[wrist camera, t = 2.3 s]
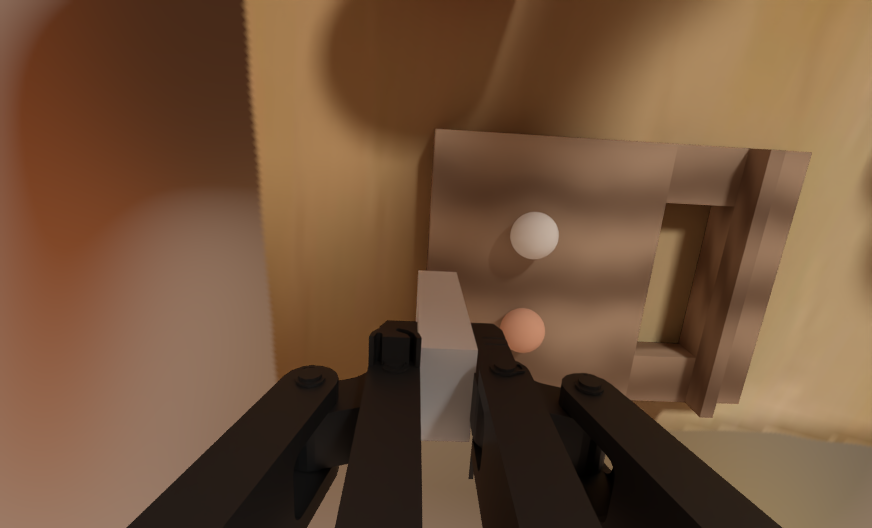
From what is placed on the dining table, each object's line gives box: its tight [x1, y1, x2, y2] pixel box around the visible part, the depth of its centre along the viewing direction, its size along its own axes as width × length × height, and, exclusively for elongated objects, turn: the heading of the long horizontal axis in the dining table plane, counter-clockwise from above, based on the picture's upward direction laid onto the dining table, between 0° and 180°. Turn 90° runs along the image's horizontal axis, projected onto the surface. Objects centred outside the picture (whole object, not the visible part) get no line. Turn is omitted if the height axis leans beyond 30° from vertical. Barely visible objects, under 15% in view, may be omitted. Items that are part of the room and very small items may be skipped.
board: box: [427, 129, 812, 418], centre depth 33 cm, size 20×26×4 cm
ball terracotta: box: [500, 308, 545, 353], centre depth 32 cm, size 3×3×3 cm
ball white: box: [510, 212, 559, 259], centre depth 30 cm, size 3×3×3 cm
